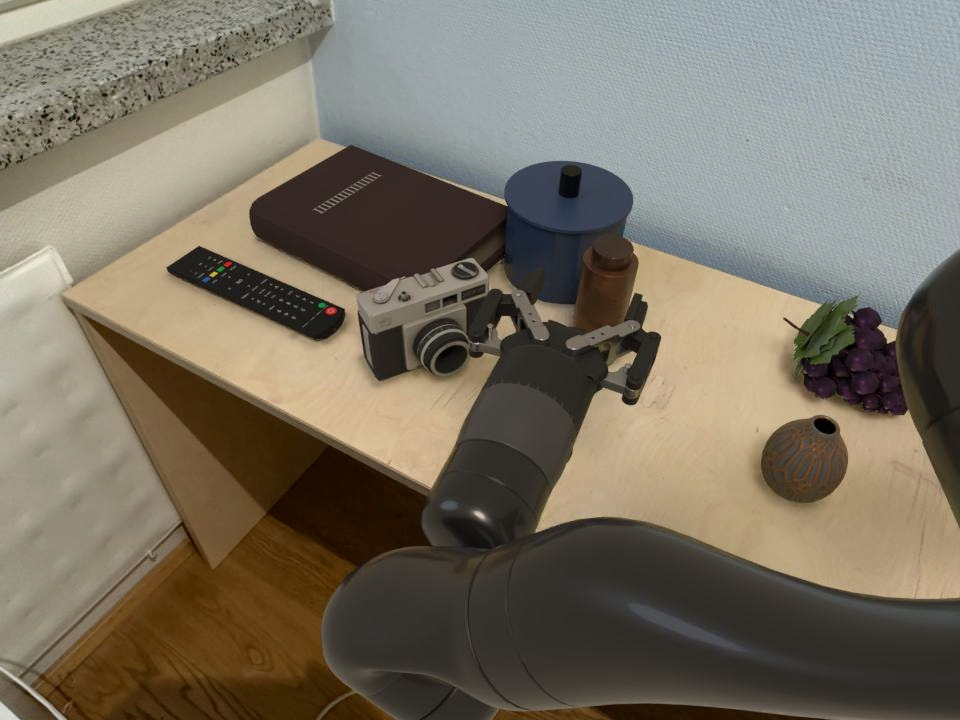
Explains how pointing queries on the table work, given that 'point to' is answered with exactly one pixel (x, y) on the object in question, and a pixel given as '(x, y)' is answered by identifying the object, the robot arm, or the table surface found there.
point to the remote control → (259, 293)
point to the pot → (549, 256)
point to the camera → (422, 320)
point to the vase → (805, 459)
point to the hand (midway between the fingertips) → (587, 288)
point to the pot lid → (568, 197)
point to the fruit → (849, 358)
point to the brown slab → (378, 220)
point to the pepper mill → (605, 283)
